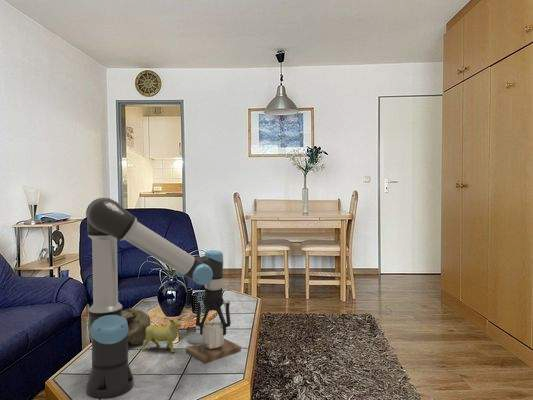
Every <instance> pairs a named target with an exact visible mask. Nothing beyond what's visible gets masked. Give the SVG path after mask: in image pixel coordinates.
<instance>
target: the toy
mask: <svg viewBox="0 0 533 400" xmlns="http://www.w3.org/2000/svg"><path fill="white" fill-rule="evenodd" d="M182 319H183V317H179V318H177V319H169V322H170V323H169V325H167V326H164V325H159V324H150V326H148V327H147V328H146V330H145V331H146V336H145V338H144V339H143V344H142V348H141V351H142V352H146V351H147V350H146V345H147V344H148V342H152V343H153V344H155V346H156V347H157V349H158V348H160V346H161V345H160V343H159V342H167V344H166V349H167V350H170V353H171V354H176V351H175V350H174V345H173V343H174V341H176V340H177V338H178V333H179V329H180V328H181V327H182V324H181V323H180V321H181V320H182Z"/></svg>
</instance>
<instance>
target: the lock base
mask: <svg viewBox="0 0 533 400" xmlns="http://www.w3.org/2000/svg"><path fill="white" fill-rule="evenodd" d="M239 351H240V352H241V351H242V346H241V345H239V344H237V343H234V342H233V341H230V340H228V339H226V338H224V342H223V344H222V345H221V346H220V347H217V348H212V349H210V348H207V344H205V343H200V344H197V345H195V344H193V345H191V346H188V347H185V353H186V354H188V355H189V356H191V357H193V358H194V359H196V360H199V361H200V362H202V363H204V364H208V363H210V362H213V361H216V360H219V359H222V358H225V357H227V356H230V355H234V354H236V353H240V352H239Z"/></svg>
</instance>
